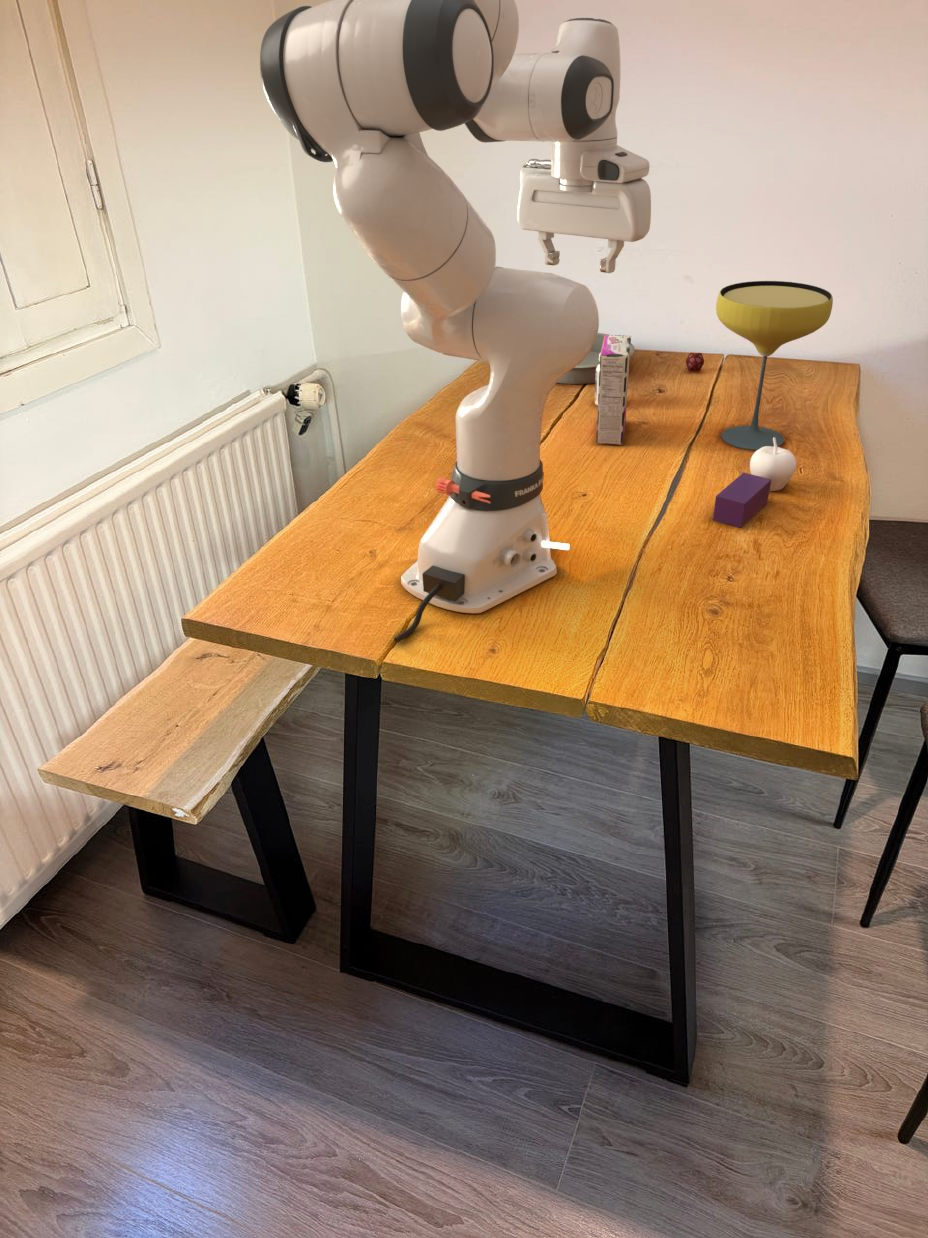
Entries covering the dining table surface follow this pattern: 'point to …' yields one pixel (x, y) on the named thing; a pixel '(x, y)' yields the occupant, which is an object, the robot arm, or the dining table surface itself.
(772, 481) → the plain white apple
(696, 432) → the dining table surface
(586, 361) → the cake pan
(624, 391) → the candy bar box
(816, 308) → the cocktail glass
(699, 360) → the dice
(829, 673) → the dining table surface
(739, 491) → the purple rectangular block
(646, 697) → the dining table surface
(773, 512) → the dining table surface
